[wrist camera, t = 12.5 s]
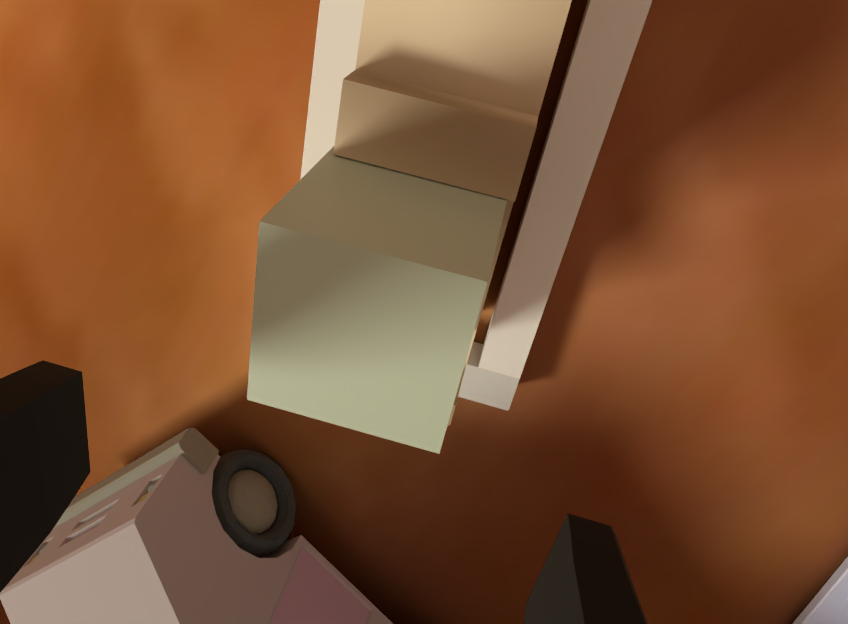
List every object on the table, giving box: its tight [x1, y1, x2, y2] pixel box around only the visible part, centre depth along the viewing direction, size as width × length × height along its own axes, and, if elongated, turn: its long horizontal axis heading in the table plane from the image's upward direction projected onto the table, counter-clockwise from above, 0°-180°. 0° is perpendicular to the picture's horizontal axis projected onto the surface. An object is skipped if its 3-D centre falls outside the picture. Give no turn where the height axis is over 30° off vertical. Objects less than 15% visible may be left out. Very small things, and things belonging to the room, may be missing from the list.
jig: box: [300, 0, 652, 411], centre depth 17 cm, size 14×7×1 cm, turn 168°
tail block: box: [247, 146, 507, 454], centre depth 13 cm, size 4×4×4 cm
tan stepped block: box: [333, 0, 572, 426], centre depth 15 cm, size 11×4×5 cm, turn 169°
